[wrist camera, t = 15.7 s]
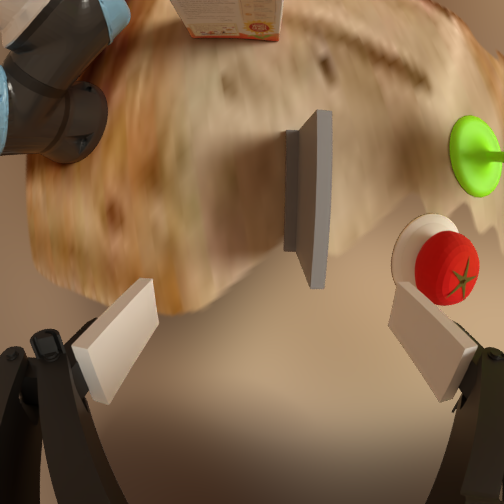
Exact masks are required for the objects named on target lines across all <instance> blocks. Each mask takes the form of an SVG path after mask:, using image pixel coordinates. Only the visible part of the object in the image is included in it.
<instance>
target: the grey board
mask: <svg viewBox="0 0 504 504" xmlns="http://www.w3.org/2000/svg"><path fill="white" fill-rule="evenodd" d="M331 190H332V111H327V110H316V111H315V112H314V113H313V115H312V116H311V117H310V118H309V119H308V120H307V121H306V123H305V124H304V125H303V126H302V127H301V128H300V130H299V131H298V130H286V182H285V224H284V251H288V252H289V251H290V252H291V251H292V252H296V254H297V256H298V259H299V261H300V264H301V266H302V269H303V272H304V274H305V277H306V279H307V282H308V284H309V287H310V289H324V287H325V277H326V267H327V256H328V243H329V229H330V212H331Z"/></svg>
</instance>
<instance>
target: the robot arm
mask: <svg viewBox="0 0 504 504" xmlns="http://www.w3.org/2000/svg"><path fill="white" fill-rule="evenodd" d="M129 21H130V10H129V8H128V6H127V4H126V2H125V0H0V31H1V33H2V43H3V47H5V48H7V49H9V50H11V51H10V53H9V54H8V56H7V58H6V59H5V60H4V62H3V63H2V65H0V156H2V155H17V154H41V155H43V156H45V157H47V158H49V159H51V160H52V161H54V162H57V163H75V162H78V161H80V160H82V159H84V158H85V157H86V156H88V155H89V154H90V153H91V152H92V151H93V150H94V148H95V147H96V146H97V144H98V143H99V141H100V139H101V137H102V135H103V132H104V130H105V127H106V122H107V116H108V107H107V101H106V98H105V95H104V93H103V92H102V91H101V89H100V88H98V87H97V86H95V85H93V84H91V83H88V82H85V81H76V80H77V78H78V77H79V76H80V75H81V74H82V72H83V71H84V70H85V69H86V68H87V67H88V66H89V64H90V63H91V62H92V61H93V60H94V59H95V58H96V57H97V56H98V55H99V54H100V52H101V51H102V50H103V49H104V48H105V47H106V46H107V45H110V44H111V43H112V42H113V39H114V38H115V37H116V36H117V35H118V34H119V33H120V32H121V31H122V30H123V29H124V28H125V27H126V26H127V24H128V23H129ZM158 324H159V321H158V315H157V308H156V301H155V294H154V287H153V279H150V278H139V279H138V280H137V281H136V282H135V283H134V284H133V285H132V286H131V287H130V288H129V289H127V290H126V291H125V292H124V293H123V294H122V295H121V296H120V297H119V298H118V299H117V300H116V301H115V302H114V303H113V304H112V305H111V306H110V307H109V308H108V309H107V310H106V311H105V312H104V313H103V314H102V315H101V316H100V317H99V318H94V319H92V320H91V321H89V322H87V323H86V324H85V325H84V326H83V327H82V328H81V329H80V330H79V331H78V332H77V333H76V334H75V335H74V336H73V337H72V338H71V339H70V340H69V341H68V342H67V343H66V344H65V345H63V342H62V340H61V337H60V334H59V332H58V331H57V330H55V329H44V330H41V331H39V332H37V333H35V334H34V335H33V336H32V337H31V339H30V343H31V346H32V348H33V351H34V353H35V355H36V358H30V357H27V356H26V353H25V351H24V349H23V348H21V347H17V346H15V347H10V348H7V349H6V350H5V351H4V352H3V353H2V354H1V355H0V504H40V464H41V450H42V440H43V443H44V449H45V454H46V459H47V464H48V468H49V473H50V477H51V481H52V485H53V488H54V492H55V495H56V499H57V502H58V504H128V502H127V500H126V498H125V496H124V494H123V492H122V490H121V488H120V486H119V484H118V482H117V480H116V478H115V476H114V473H113V471H112V469H111V466H110V464H109V462H108V460H107V457H106V455H105V453H104V450H103V447H102V444H101V442H100V439H99V437H98V434H97V431H96V428H95V425H94V422H93V419H92V416H91V412H90V409H89V406H88V402H87V400H86V398H85V395H86V394H87V392H88V391H90V394H91V396H92V398H93V400H94V401H97V402H101V403H104V404H108V405H109V404H110V402H111V401H112V399H113V397H114V396H115V394H116V392H117V391H118V389H119V387H120V385H121V384H122V382H123V381H124V379H125V377H126V376H127V374H128V372H129V370H130V369H131V367H132V366H133V364H134V363H135V361H136V359H137V358H138V356H139V354H140V353H141V351H142V350H143V348H144V346H145V345H146V343H147V341H148V340H149V339H150V337H151V335H152V334H153V332H154V331H155V329H156V328H157V326H158ZM388 327H389V328H390V329H391V331H392V332H393V334H394V335H395V336H396V338H397V339H398V341H399V342H400V344H401V345H402V346H403V348H404V349H405V351H406V352H407V354H408V355H409V357H410V358H411V359H412V361H413V362H414V364H415V365H416V367H417V368H418V370H419V371H420V373H421V374H422V376H423V377H424V379H425V381H426V382H427V384H428V385H429V387H430V388H431V390H432V391H433V393H434V395H435V396H436V398H437V399H438V401H439V402H443V401H447V400H450V399H453V397H454V395H455V393H456V392H457V390H458V388H459V389H460V390H461V392H462V394H461V396H460V398H459V400H458V401H457V403H456V405H455V406H454V408H453V410H452V412H454V411H455V409H457V410H456V415H455V419H454V423H453V427H452V431H451V435H450V438H449V441H448V445H447V448H446V451H445V454H444V457H443V461H442V463H441V466H440V469H439V471H438V474H437V477H436V479H435V482H434V484H433V487H432V489H431V492H430V494H429V496H428V498H427V501H426V503H425V504H504V354H503V352H502V351H500V350H499V349H496V348H492V347H488V348H485V349H484V348H483V347H482V346H481V345H480V344H479V343H478V342H477V341H476V340H475V339H474V338H473V337H472V336H471V335H469V333H468V332H467V331H465V329H464V328H463V327H462V326H461V325H459V324H458V323H456V322H454V321H453V320H451V319H450V318H449V317H448V316H447V315H446V314H445V313H444V312H442V311H441V310H440V309H439V308H438V307H437V306H436V305H435V304H434V303H433V302H431V301H430V300H429V299H428V298H427V297H426V296H425V295H424V294H422V293H421V292H420V291H419V290H418V289H417V288H416V287H414V286H413V285H412V284H411V283H410V282H397V286H396V291H395V296H394V301H393V306H392V310H391V315H390V319H389V323H388ZM501 485H503V496H502V501H500V500H499V494H500V489H501Z"/></svg>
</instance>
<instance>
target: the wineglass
mask: <svg viewBox="0 0 504 504" xmlns="http://www.w3.org/2000/svg"><path fill="white" fill-rule="evenodd" d="M449 148H450V159H451V164H452V168H453V171H454V173H455V176H456V179H457V180H458V182H459V183H460V185H461V187H462V188H463V189H464V190H465V191H466V192H467V193H468V194H470V195H472V196H474V197H480V198H481V197H484V196H487V195H489V194H490V193H491V192H492V191H494V189H495V188H496V186H497V184H498V182H499V179H500V176H501V170H502V162H503V163H504V152H501V150H500V146H499V143H498V141H497V138H496V136H495V134H494V133H493V131H492V129H491V128H490V127H489V126H488V125H487V124H486V123H485V122H484V121H483V120H481V119H480V118H478V117H475V116H472V115H469V116H463V117H462V118H460V119H458V121H457V122H456V123H455V125H454V127H453V129H452V132H451V136H450V144H449Z"/></svg>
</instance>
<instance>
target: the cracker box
mask: <svg viewBox="0 0 504 504" xmlns="http://www.w3.org/2000/svg"><path fill="white" fill-rule="evenodd" d="M170 1H171V3H172V5H173V6H174V8H175V10H176V11H177V13H178V15H179V16H180V18H181V20H182V21H183V23H184V25H185V26H186V28H187V30H188V32H189V33H190V35H191V36H192V38H244V39H259V40H270V41H279V37H280V30H281V22H282V13H283V3H284V0H170Z"/></svg>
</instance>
